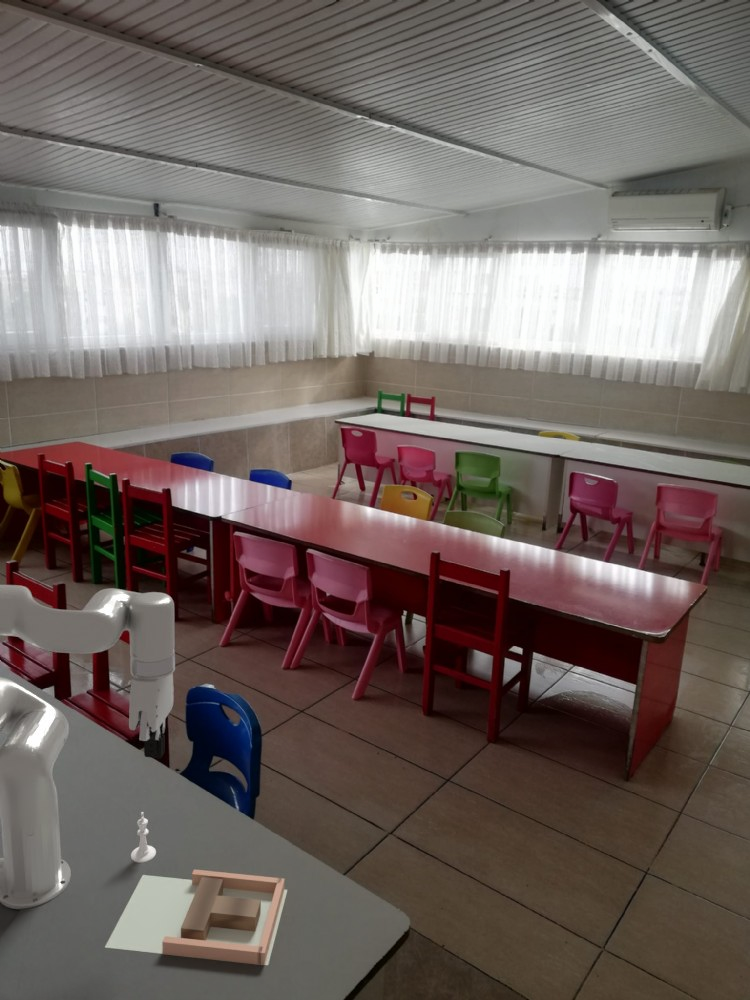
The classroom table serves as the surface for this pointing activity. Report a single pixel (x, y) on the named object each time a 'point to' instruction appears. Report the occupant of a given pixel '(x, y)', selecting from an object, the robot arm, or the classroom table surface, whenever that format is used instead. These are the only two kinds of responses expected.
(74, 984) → the classroom table surface
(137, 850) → the chess piece
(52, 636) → the robot arm
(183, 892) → the mat
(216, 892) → the t block
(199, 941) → the pocket
